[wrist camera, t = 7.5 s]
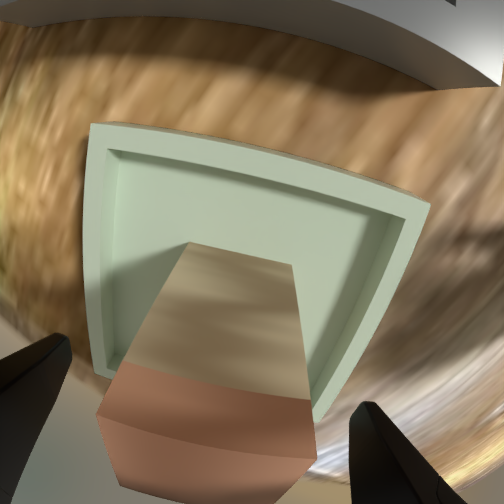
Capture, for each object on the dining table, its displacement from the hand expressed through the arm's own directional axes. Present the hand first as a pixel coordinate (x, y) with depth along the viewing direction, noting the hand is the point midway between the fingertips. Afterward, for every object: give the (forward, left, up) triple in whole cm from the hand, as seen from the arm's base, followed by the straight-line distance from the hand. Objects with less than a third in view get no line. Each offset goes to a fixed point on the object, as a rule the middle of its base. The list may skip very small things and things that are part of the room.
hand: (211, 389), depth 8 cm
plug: (0, 0, -5) cm, 5 cm away
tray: (0, 0, -6) cm, 6 cm away
